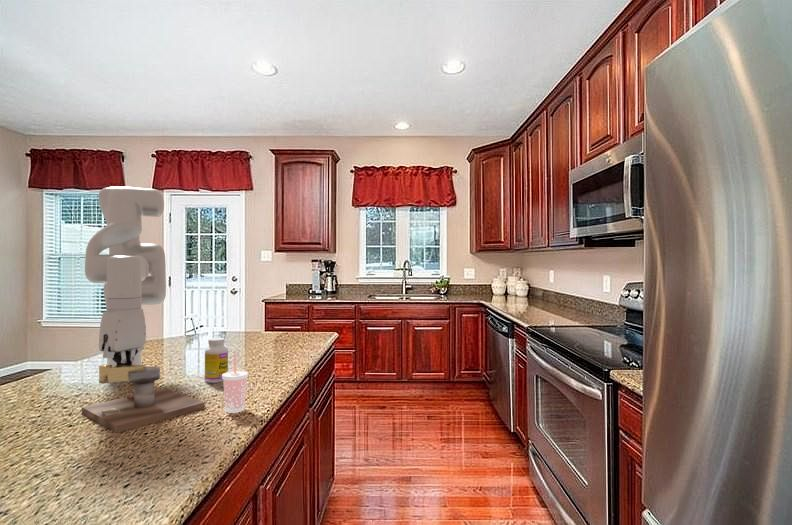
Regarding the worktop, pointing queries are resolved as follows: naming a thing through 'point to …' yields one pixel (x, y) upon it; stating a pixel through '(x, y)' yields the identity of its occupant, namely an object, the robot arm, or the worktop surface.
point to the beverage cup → (234, 389)
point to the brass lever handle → (128, 373)
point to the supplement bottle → (216, 360)
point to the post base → (141, 408)
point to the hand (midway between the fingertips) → (124, 377)
